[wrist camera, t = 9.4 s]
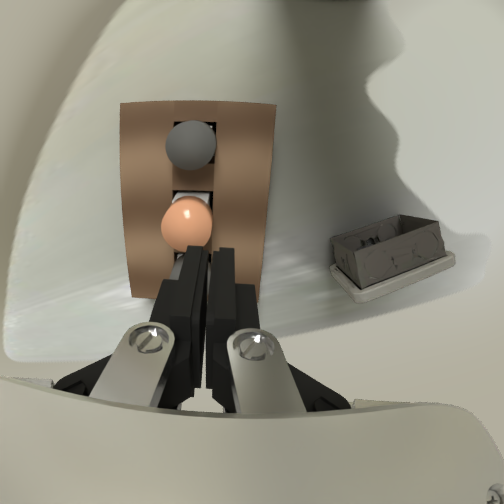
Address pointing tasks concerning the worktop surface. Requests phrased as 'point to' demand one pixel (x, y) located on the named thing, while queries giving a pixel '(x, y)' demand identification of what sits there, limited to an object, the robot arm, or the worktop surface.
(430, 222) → the electrical switch
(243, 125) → the wooden socket board
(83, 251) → the worktop surface
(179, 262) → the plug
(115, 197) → the worktop surface
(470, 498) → the robot arm
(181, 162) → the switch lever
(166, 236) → the plug middle
